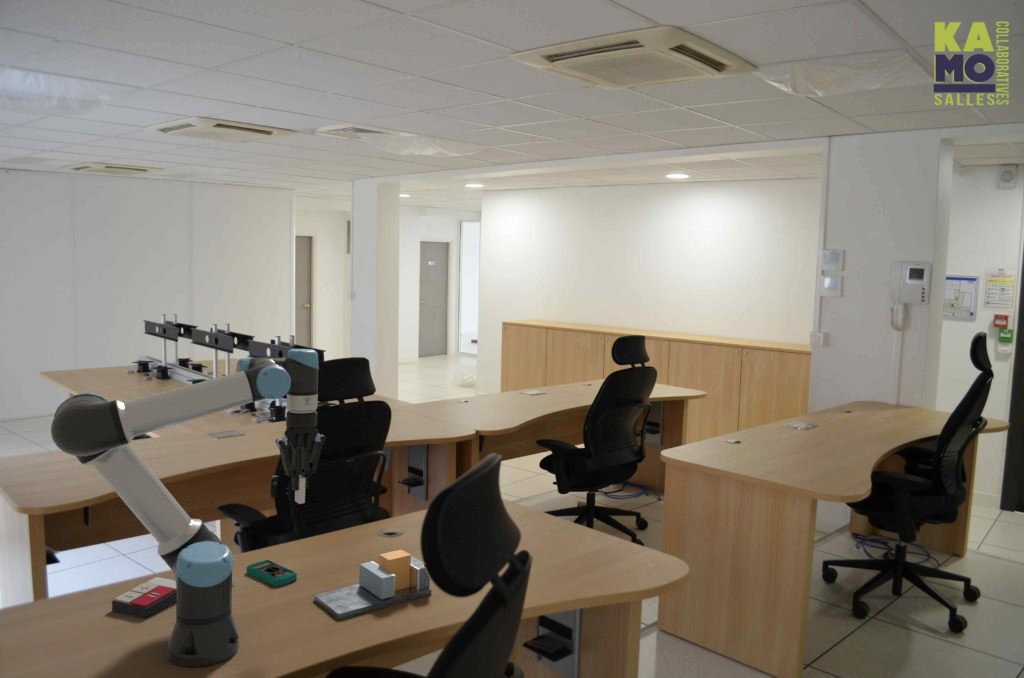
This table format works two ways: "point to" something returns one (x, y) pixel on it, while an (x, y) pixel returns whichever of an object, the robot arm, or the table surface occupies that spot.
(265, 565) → the digital multimeter
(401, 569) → the light orange block
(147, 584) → the calculator
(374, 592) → the block
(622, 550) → the table surface
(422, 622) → the table surface
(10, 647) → the table surface
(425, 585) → the vise base
